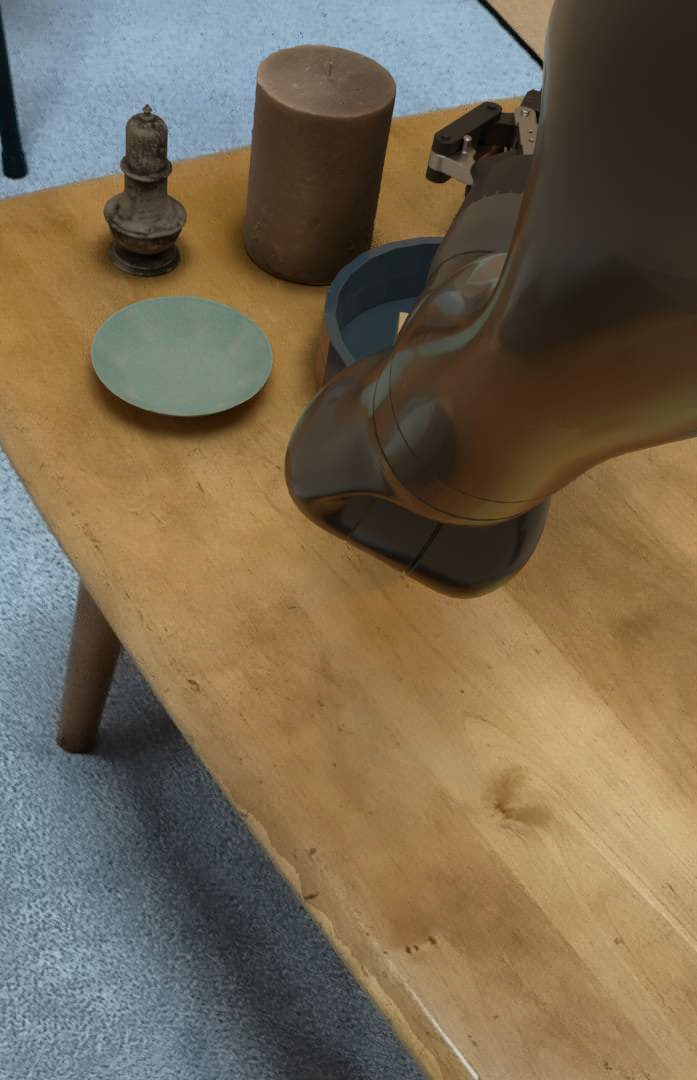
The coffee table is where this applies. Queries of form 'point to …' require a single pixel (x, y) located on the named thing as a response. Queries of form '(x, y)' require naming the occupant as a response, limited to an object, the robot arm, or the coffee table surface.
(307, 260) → the pillar candle
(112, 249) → the salt shaker
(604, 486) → the coffee table surface
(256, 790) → the coffee table surface
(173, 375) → the saucer
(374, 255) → the bowl
